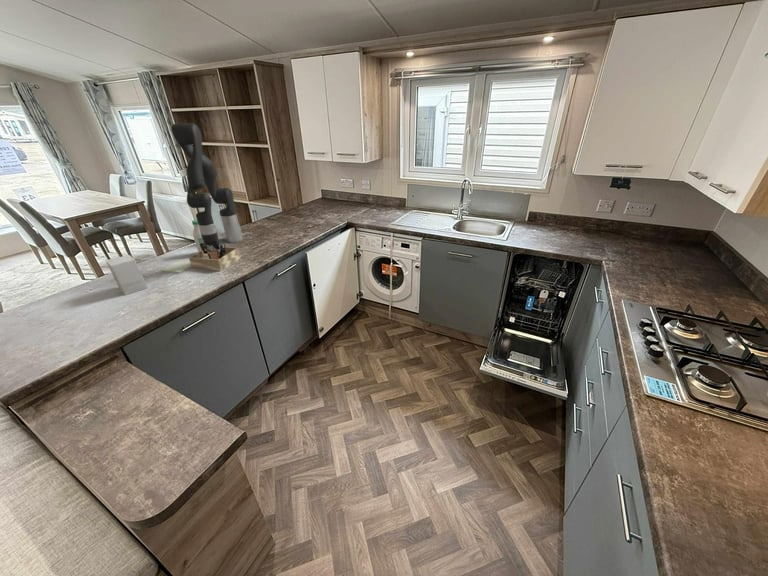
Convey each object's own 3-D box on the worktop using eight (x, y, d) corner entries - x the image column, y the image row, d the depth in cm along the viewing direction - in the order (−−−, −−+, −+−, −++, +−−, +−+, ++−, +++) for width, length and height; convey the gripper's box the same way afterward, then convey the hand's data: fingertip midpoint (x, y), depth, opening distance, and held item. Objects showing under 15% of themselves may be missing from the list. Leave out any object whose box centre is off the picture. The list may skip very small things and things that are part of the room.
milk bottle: (197, 256, 173) (186, 223, 163) (200, 251, 179) (190, 219, 169) (212, 255, 175) (202, 222, 165) (214, 250, 181) (205, 218, 171)
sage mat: (178, 262, 166) (177, 261, 166) (195, 264, 164) (195, 263, 164) (161, 270, 156) (161, 270, 156) (179, 272, 155) (179, 272, 154)
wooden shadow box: (214, 255, 175) (211, 245, 172) (241, 257, 172) (238, 247, 169) (192, 267, 160) (188, 257, 157) (221, 270, 157) (218, 260, 154)
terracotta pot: (216, 259, 169) (211, 241, 164) (226, 260, 168) (221, 242, 163) (208, 264, 164) (203, 245, 159) (218, 265, 163) (213, 246, 158)
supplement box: (142, 282, 146) (129, 254, 138) (148, 288, 141) (135, 259, 133) (119, 289, 140) (104, 260, 132) (124, 295, 135) (110, 265, 127)
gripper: (225, 230, 159) (232, 259, 168) (201, 228, 162) (210, 257, 170) (215, 235, 153) (224, 265, 161) (191, 233, 155) (201, 262, 164)
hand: (217, 260), depth 166 cm, fingers closed on terracotta pot, 5 cm apart
